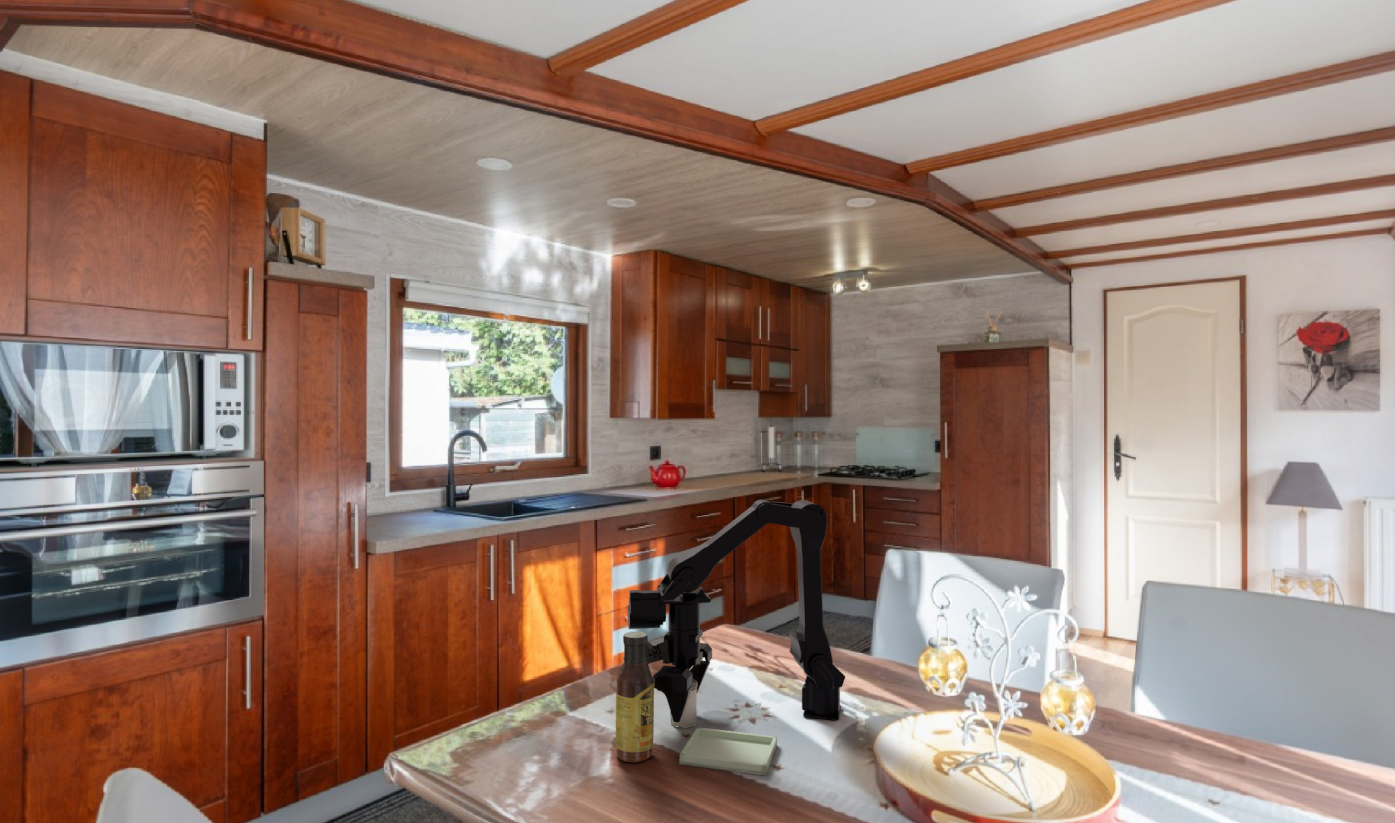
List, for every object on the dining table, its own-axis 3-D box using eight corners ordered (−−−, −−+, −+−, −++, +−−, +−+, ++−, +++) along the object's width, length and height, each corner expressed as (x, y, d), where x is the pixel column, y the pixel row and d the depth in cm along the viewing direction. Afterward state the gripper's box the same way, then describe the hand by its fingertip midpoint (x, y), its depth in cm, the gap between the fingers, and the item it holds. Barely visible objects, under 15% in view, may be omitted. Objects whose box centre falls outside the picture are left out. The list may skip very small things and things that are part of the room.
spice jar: (700, 718, 140) (700, 678, 140) (693, 729, 135) (693, 688, 135) (674, 715, 141) (674, 676, 141) (666, 725, 136) (666, 685, 136)
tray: (777, 745, 129) (777, 736, 129) (765, 775, 118) (765, 765, 118) (697, 735, 132) (697, 727, 132) (679, 764, 122) (679, 754, 122)
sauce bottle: (647, 766, 121) (648, 641, 121) (610, 762, 122) (610, 639, 122) (658, 748, 127) (658, 630, 127) (622, 744, 129) (622, 627, 128)
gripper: (658, 610, 149) (657, 689, 149) (624, 637, 131) (624, 727, 131) (713, 614, 146) (712, 695, 146) (686, 642, 128) (685, 735, 128)
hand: (683, 711), depth 138 cm, fingers open, 9 cm apart
